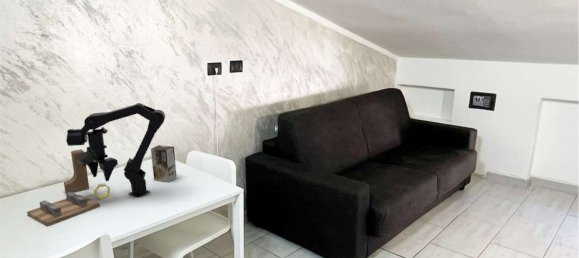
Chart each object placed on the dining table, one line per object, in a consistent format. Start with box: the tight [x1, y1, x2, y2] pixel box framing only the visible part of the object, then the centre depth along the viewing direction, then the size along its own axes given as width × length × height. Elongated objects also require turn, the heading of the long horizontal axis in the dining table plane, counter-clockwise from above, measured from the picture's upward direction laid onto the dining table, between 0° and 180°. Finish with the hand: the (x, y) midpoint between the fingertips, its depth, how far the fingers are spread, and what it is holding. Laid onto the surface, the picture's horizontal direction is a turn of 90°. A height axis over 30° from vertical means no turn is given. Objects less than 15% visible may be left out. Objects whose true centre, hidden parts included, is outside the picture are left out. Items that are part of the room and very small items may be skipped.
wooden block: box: [63, 148, 90, 194], centre depth 169 cm, size 9×4×18 cm, turn 133°
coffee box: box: [150, 144, 177, 183], centre depth 183 cm, size 9×6×16 cm
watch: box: [93, 182, 111, 199], centre depth 163 cm, size 6×3×6 cm, turn 138°
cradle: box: [26, 192, 101, 227], centre depth 151 cm, size 16×20×4 cm
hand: (101, 179), depth 162 cm, fingers open, 9 cm apart
